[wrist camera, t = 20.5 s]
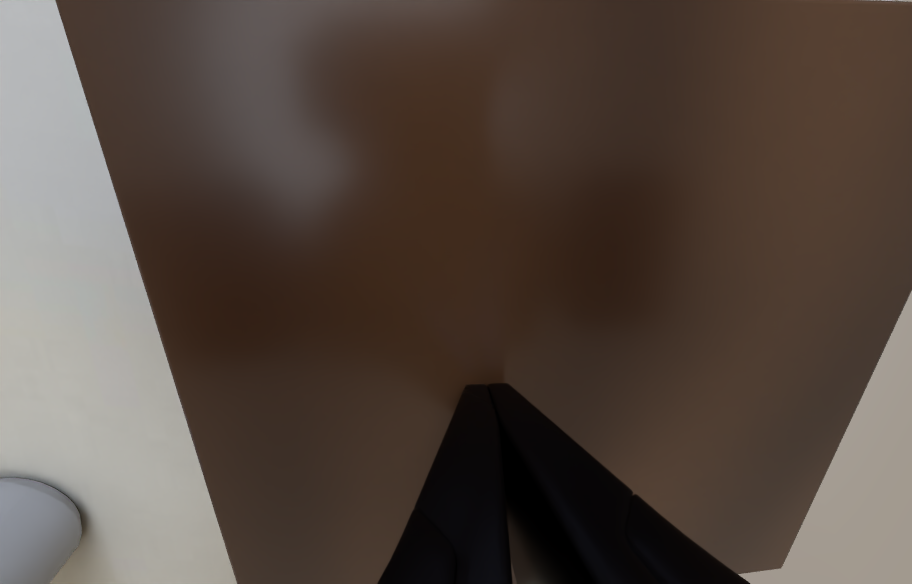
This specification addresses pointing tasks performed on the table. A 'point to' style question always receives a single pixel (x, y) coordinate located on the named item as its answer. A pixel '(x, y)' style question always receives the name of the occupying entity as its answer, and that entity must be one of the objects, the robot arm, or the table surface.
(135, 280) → the table surface
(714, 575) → the robot arm
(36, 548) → the beverage can
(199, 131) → the case lid
